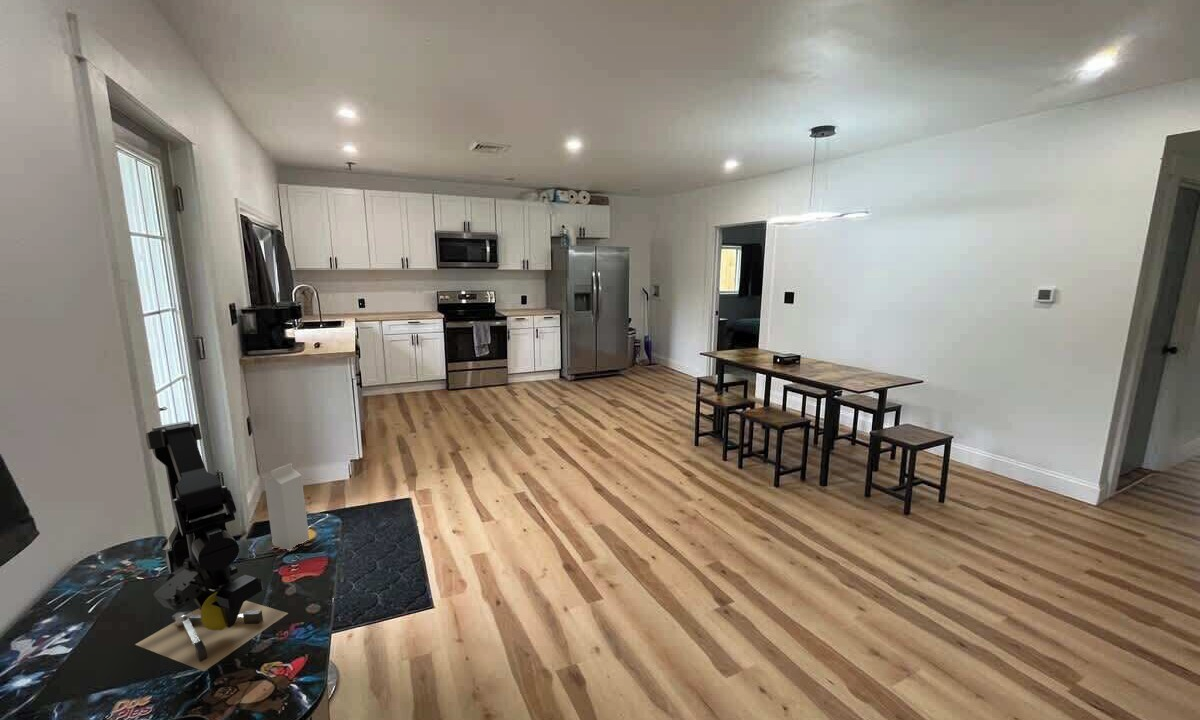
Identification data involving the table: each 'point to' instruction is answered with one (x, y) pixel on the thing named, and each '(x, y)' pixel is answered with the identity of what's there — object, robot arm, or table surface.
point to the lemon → (212, 614)
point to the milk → (286, 507)
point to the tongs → (188, 620)
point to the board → (209, 638)
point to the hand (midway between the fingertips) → (220, 622)
